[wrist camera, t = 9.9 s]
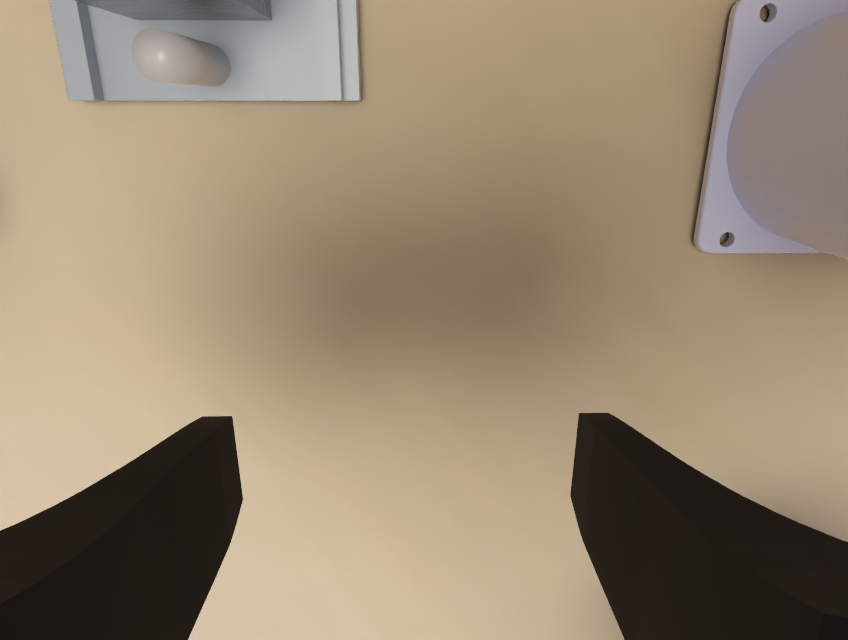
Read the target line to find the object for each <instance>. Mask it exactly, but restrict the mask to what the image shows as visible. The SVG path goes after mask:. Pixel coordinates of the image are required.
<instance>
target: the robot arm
mask: <svg viewBox="0 0 848 640" xmlns="http://www.w3.org/2000/svg"><path fill="white" fill-rule="evenodd" d="M763 6H767V7H768V9H769V14H770V15H769V17H768V20H767V21H766V22H763V21H762V20H761V19H760V10H761V8H762V7H763ZM726 232H728V233H729V238H728V240H727V242H725V243H724V244H720V242H719V239H720V237H721V235H723V234H724V233H726ZM694 244H695V246H696V248H698V249H699V250H701V251H703V252H705V253H828V254H831V255H834V256H837V257H839V258H842V259H845V260H848V0H738V1H737V2H736V3H735V5H734V6H733V7H732V10H731V13H730V17H729V23H728V29H727V35H726V42H725V48H724V54H723V60H722V66H721V72H720V79H719V85H718V91H717V97H716V103H715V110H714V116H713V122H712V128H711V134H710V141H709V147H708V153H707V159H706V165H705V171H704V178H703V184H702V190H701V196H700V202H699V209H698V215H697V221H696V227H695V233H694ZM571 499H572V503H573V507H574V511H575V515H576V519H577V522H578V526H579V529H580V533H581V536H582V539H583V542H584V544H585V547H586V549H587V552H588V554H589V556H590V559H591V561H592V564H593V566H594V568H595V571H596V573H597V576H598V578H599V580H600V583H601V585H602V587H603V590H604V592H605V594H606V597H607V599H608V601H609V604H610V606H611V608H612V611H613V613H614V615H615V618H616V620H617V622H618V625H619V627H620V629H621V632H622V634H623V636H624V639H625V640H848V542H845V541H842V540H840V539H837V538H835V537H832V536H830V535H827V534H825V533H822V532H820V531H818V530H815V529H813V528H810V527H808V526H805V525H803V524H800V523H798V522H796V521H794V520H791V519H789V518H787V517H785V516H782V515H780V514H778V513H776V512H774V511H772V510H770V509H768V508H766V507H764V506H762V505H760V504H758V503H756V502H753V501H751V500H749V499H747V498H745V497H743V496H741V495H740V494H738V493H736V492H734V491H732V490H730V489H728V488H727V487H725V486H723V485H721V484H720V483H718V482H716V481H715V480H713V479H711V478H709V477H708V476H706V475H704V474H703V473H701V472H699V471H697V470H696V469H694V468H693V467H691V466H689V465H688V464H686V463H685V462H683V461H681V460H680V459H678V458H677V457H675V456H674V455H672V454H671V453H669V452H668V451H666V450H665V449H663V448H662V447H660V446H659V445H657V444H656V443H654V442H653V441H651V440H650V439H648V438H647V437H645V436H644V435H642V434H641V433H639V432H638V431H636V430H635V429H633V428H632V427H630V426H629V425H627V424H626V423H624V422H623V421H621V420H620V419H618V418H616V417H615V416H613V415H611V414H609V413H579V419H578V429H577V438H576V448H575V458H574V467H573V477H572V487H571ZM242 500H243V497H242V489H241V481H240V474H239V466H238V458H237V450H236V443H235V435H234V427H233V419H232V416H220V417H201V418H199V419H197V420H195V421H193V422H192V423H190V424H188V425H187V426H185V427H184V428H182V429H180V430H179V431H177V432H176V433H174V434H173V435H171V436H170V437H168V438H167V439H165V440H164V441H162V442H161V443H159V444H157V445H156V446H154V447H153V448H151V449H150V450H148V451H147V452H145V453H144V454H142V455H140V456H139V457H137V458H136V459H134V460H133V461H131V462H130V463H128V464H126V465H125V466H123V467H121V468H120V469H118V470H116V471H115V472H113V473H111V474H110V475H108V476H106V477H105V478H103V479H101V480H100V481H98V482H96V483H95V484H93V485H91V486H89V487H88V488H86V489H84V490H83V491H81V492H79V493H77V494H75V495H74V496H72V497H70V498H68V499H66V500H64V501H62V502H60V503H59V504H57V505H55V506H53V507H51V508H49V509H47V510H44V511H42V512H40V513H38V514H36V515H34V516H32V517H30V518H28V519H26V520H24V521H22V522H20V523H17V524H15V525H13V526H11V527H8V528H6V529H3V530H1V531H0V640H188V638H189V636H190V634H191V631H192V629H193V627H194V625H195V622H196V620H197V618H198V616H199V613H200V611H201V609H202V607H203V604H204V602H205V600H206V598H207V595H208V593H209V591H210V589H211V586H212V584H213V582H214V580H215V577H216V575H217V573H218V571H219V568H220V566H221V564H222V561H223V559H224V557H225V555H226V552H227V550H228V547H229V545H230V543H231V539H232V536H233V533H234V529H235V526H236V523H237V519H238V515H239V512H240V508H241V504H242Z"/></svg>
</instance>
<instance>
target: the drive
mask: <svg viewBox="0 0 848 640" xmlns="http://www.w3.org/2000/svg"><path fill="white" fill-rule="evenodd" d="M74 1H77V2H80V3H84V4H87V5H90V6H93V7H97V8H100V9H103V10H106V11H110V12H113V13H116V14H119V15H123V16H126V17H129V18H132V19H136V20H236V21H272V10H271V0H74Z"/></svg>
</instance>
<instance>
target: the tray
mask: <svg viewBox="0 0 848 640" xmlns="http://www.w3.org/2000/svg"><path fill="white" fill-rule="evenodd" d="M49 4H50V9H51V14H52V19H53V24H54V29H55V34H56V39H57V44H58V50H59V55H60V60H61V65H62V70H63V75H64V80H65V85H66V90H67V95H68V100H69V101H362V97H361V68H360V39H359V10H358V0H271V10H272V21H236V20H136V19H132V18H129V17H126V16H123V15H119V14H116V13H113V12H110V11H106V10H103V9H100V8H97V7H93V6H90V5H87V4H84V3H80V2H77V1H74V0H49Z"/></svg>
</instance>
